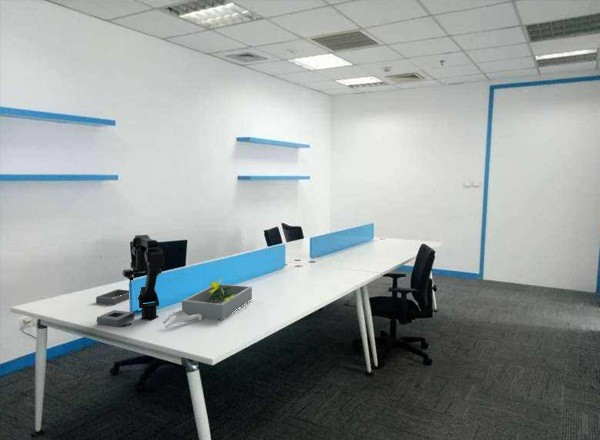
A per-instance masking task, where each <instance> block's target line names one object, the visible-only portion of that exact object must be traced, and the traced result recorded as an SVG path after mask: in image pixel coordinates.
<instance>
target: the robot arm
mask: <svg viewBox="0 0 600 440" xmlns="http://www.w3.org/2000/svg"><path fill="white" fill-rule="evenodd" d="M131 247H132V248H131V253H132V255H134V256H135V259H136V260H135V261H131V262H130V269H123V270H122V277H124V278H126V279H129V282H130V283H131V280H133V279H134V280H135V277H134V275H139V274H141V275H142V274H146V279H145V284H144V285H145V287H141V291H140V295H139V297H138V300H139V308H142V311H141V317H140V318H139V319H140V320H145V321H153V320H155V319H157V318H158V317H159V315H157V313H158V312H157V307H159V306H160V301H159V300H160V299H159V298H158V294H157V291H156V288H155V287H156V284H157V278H158V276H160V274H162V273H163V272H162V267H163V265H164V262H165V260H166V255H165V254H166V253H165V252H164V248H162V246H160V245H159V242H158V240H156V239H151V238H150V236H149V235H148V234H140V235H139V234H136V235H134V237H133V239H132V241H131ZM149 249H155V251H153V252H149V251H148V250H149ZM132 269H133V270H132ZM143 303H146V304H143Z"/></svg>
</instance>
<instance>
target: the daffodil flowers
mask: <svg viewBox="0 0 600 440" xmlns="http://www.w3.org/2000/svg"><path fill="white" fill-rule="evenodd" d="M222 280H223V276H221V277H220V278H219V281H216V280H213V281H211V282H210V284H209V287H213V290H211V291H209V292H212V291H213V292H212V293H210V294H215V295H213V296H212V298H213V297H215V298H214V299H213V300H212V301H211V303H215V302H216V301H217V300H218V304H222V303H223V302H225V301H227V300H228V299H230V298H232V297H234V296H233V294H234V293H232V294H228V295H225V294H226V293H227V292H225V293H224V292H223V290H227V289H230V288H232V287H225V288H220V287H219V284H221V282H222ZM209 287H208V288H209ZM214 291H215V292H214ZM216 293H217V294H216ZM220 293H222V295H220ZM231 295H232V296H231ZM234 295H235V294H234ZM229 296H231V297H229ZM227 297H229V298H227ZM221 302H222V303H221Z"/></svg>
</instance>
